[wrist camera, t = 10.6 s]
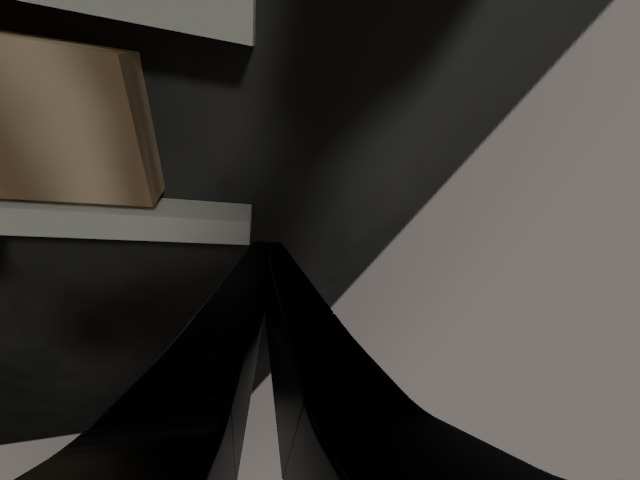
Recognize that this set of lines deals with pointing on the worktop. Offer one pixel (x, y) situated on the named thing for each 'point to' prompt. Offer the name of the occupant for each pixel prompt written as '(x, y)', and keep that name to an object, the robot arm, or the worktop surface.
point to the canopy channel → (167, 214)
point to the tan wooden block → (75, 123)
